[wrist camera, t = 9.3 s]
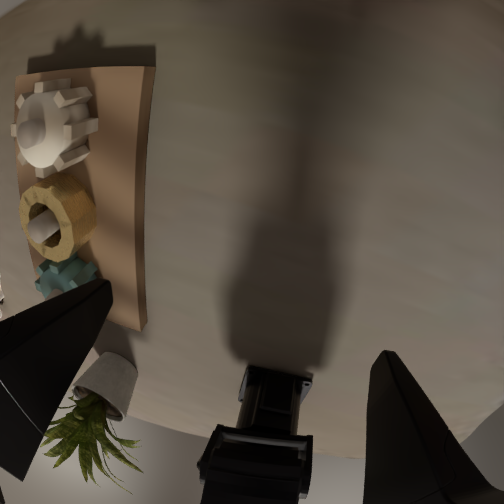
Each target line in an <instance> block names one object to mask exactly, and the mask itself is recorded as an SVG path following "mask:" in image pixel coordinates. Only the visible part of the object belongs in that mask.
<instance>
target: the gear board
mask: <svg viewBox="0 0 504 504" xmlns="http://www.w3.org/2000/svg"><path fill="white" fill-rule="evenodd" d="M155 68H156V67H149V66H112V67H90V68H76V69H65V70H56V71H48V72H40V73H34V74H27V75H21V76H16V85H15V123H13V124H11V136H15V149H16V164H17V175H18V184H19V192H20V200H21V197H22V193H24V192H25V191H26V190H28V189H29V188H30V187H31V186H33V185H35V184H36V183H38V182H40V181H42V180H44V179H46V178H48V177H50V176H52V175H54V174H56V173H58V172H60V173H66V174H72V175H74V176H75V177H76V178H77V179H78V180H79V181H80V182H81V183H83V184H84V185H85V186H86V187H87V189H88V191H89V193H90V195H91V197H92V200H93V202H94V204H95V206H96V218H97V227H96V229H95V231H94V233H93V235H92V237H91V239H90V240H89V241H88V242H86V243H85V244H84V245H83V246H82V247H81V248H80V249H78V250H77V251H76V252H75V253H74V254H73V255H72V256H71V257H69V258H68V259H65V260H62V261H60V262H55V261H52V260H50V259H47V258H45V257H43V256H42V255H41V254H40V253H39V252H38V251H37V250H36V249H35V248H34V247H33V246H32V245H31V243H30V242H29V240H28V238H27V240H28V245H29V249H30V254H31V258H32V262H33V266H34V270H35V274H36V277H37V280H36V281H35V285H36V289H37V290H38V291H40V292H42V293H43V295H44V297H45V301H46V300H48V299H51V298H53V297H55V296H57V295H60V294H62V293H64V292H66V291H69V290H71V289H73V288H75V287H78V286H80V285H82V284H85V283H87V282H89V281H91V280H94V279H96V278H99V277H101V278H104V279H107V280H109V281H110V282H111V285H112V292H113V305H112V307H111V309H110V311H109V313H108V316H107V318H106V320H109V321H111V322H114V323H117V324H119V325H122V326H125V327H128V328H130V329H133V330H136V331H139V332H141V331H142V329H143V328H144V326H145V324H146V323H147V311H146V294H145V270H144V195H145V171H146V154H147V140H148V128H149V117H150V108H151V99H152V90H153V83H154V75H155ZM27 229H28V233H29V235H30V237H31V239H32V240H33V241H34V242H36V243H38V244H40V243H42V242H43V241H44V240H46V239H47V238H48V237H49V236H51V235H52V234H53V233H55V232H56V231H57V230H59V229H60V224H59V222H58V220H57V218H56V216H55V214H54V212H53V211H52V210H51V209H50V208H49V209H47V210H46V211H44V212H43V213H41V214H40V215H38V216H37V217H35V218H34V219H32V220H31V221H30V222H29V223H28V225H27Z"/></svg>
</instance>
